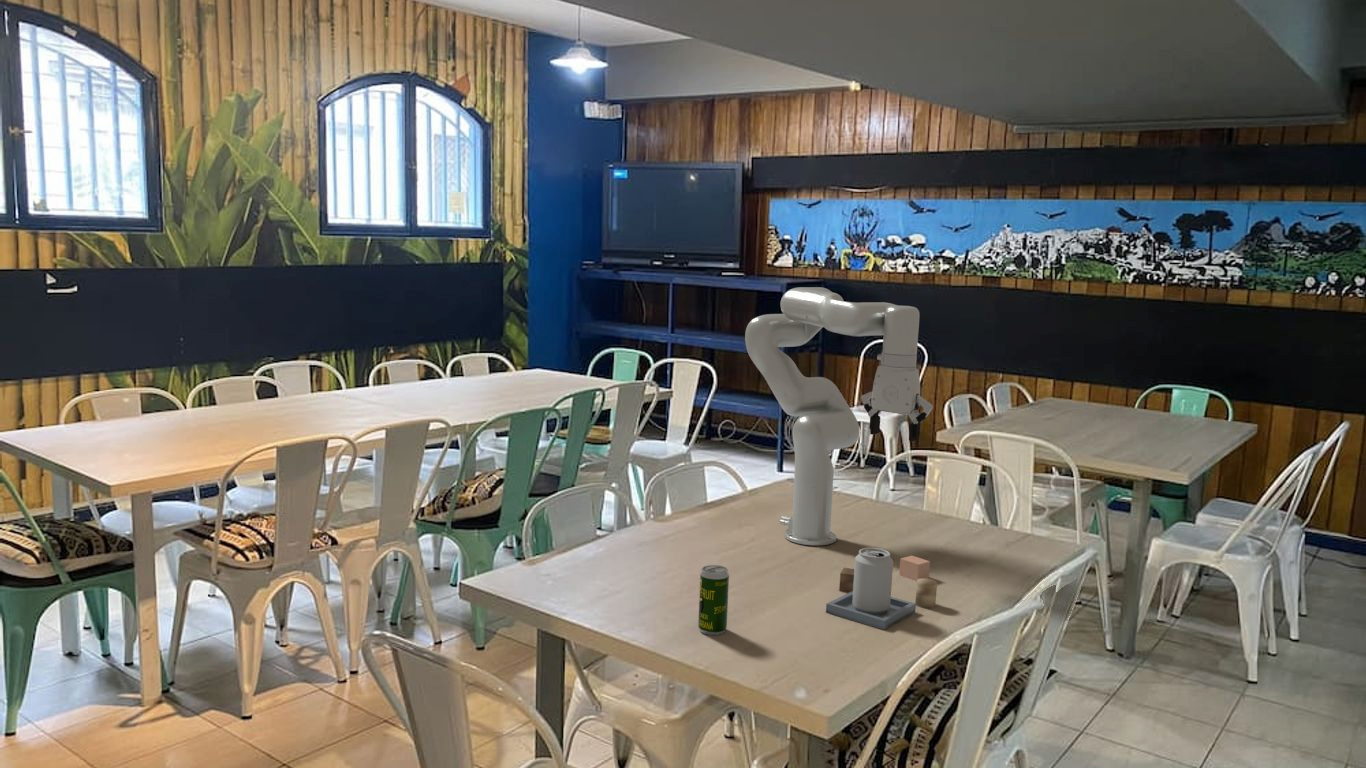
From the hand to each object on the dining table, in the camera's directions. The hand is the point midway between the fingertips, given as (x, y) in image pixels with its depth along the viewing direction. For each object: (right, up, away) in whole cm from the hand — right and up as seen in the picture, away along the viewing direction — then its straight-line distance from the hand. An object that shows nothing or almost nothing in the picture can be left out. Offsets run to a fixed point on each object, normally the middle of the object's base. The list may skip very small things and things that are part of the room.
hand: (893, 437), depth 231 cm
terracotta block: (+4, -31, -2) cm, 31 cm away
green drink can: (-42, -35, -37) cm, 66 cm away
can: (-10, -34, -24) cm, 42 cm away
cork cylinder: (+3, -34, -19) cm, 39 cm away
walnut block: (-12, -32, -11) cm, 36 cm away
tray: (-10, -34, -24) cm, 43 cm away
